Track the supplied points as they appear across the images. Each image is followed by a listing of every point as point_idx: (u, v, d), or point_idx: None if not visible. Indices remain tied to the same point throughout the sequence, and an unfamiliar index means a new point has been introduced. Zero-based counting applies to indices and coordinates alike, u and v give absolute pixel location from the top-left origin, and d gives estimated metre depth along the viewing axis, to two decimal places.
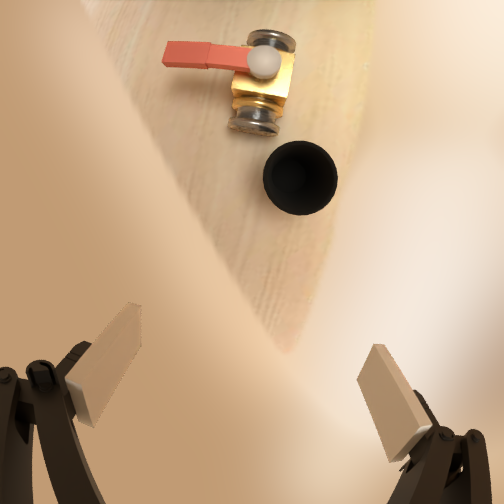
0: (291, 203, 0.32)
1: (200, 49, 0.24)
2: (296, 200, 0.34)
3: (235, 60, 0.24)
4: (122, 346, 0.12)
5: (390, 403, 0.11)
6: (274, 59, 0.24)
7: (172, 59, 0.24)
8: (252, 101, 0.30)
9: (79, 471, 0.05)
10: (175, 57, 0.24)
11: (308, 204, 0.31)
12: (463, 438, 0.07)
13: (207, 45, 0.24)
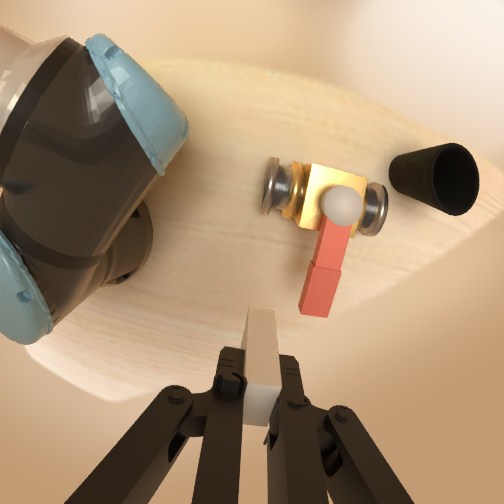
0: (455, 184, 0.26)
1: (321, 278, 0.26)
2: (445, 176, 0.28)
3: (341, 238, 0.25)
4: None
5: None
6: (345, 194, 0.24)
7: (327, 306, 0.27)
8: None
9: (232, 478, 0.06)
10: (325, 303, 0.27)
11: (462, 170, 0.24)
12: (326, 420, 0.09)
13: (317, 270, 0.26)
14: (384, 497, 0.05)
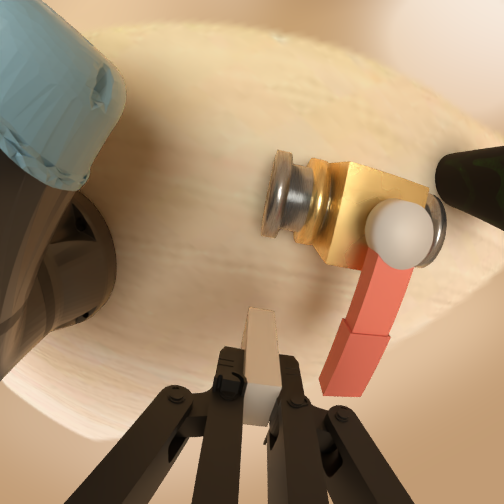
0: None
1: (359, 348, 0.15)
2: None
3: (396, 288, 0.14)
4: None
5: None
6: (409, 216, 0.13)
7: (362, 383, 0.16)
8: None
9: (232, 479, 0.06)
10: (361, 380, 0.16)
11: None
12: (326, 420, 0.09)
13: (355, 338, 0.15)
14: (384, 497, 0.05)
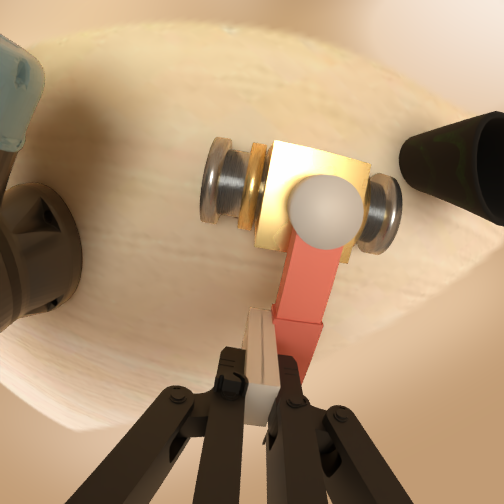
0: (496, 177, 0.15)
1: (287, 335, 0.15)
2: (480, 165, 0.17)
3: (323, 270, 0.14)
4: None
5: None
6: (329, 190, 0.13)
7: (299, 375, 0.16)
8: None
9: (233, 479, 0.06)
10: None
11: None
12: (324, 420, 0.09)
13: (280, 324, 0.15)
14: (383, 497, 0.05)
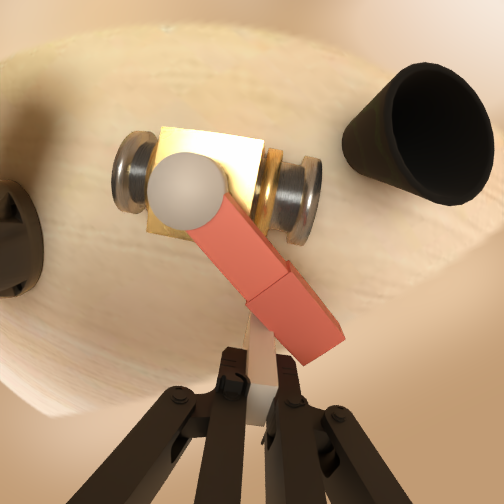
0: (451, 152, 0.14)
1: (273, 307, 0.14)
2: (433, 141, 0.16)
3: (235, 231, 0.13)
4: None
5: None
6: (166, 177, 0.12)
7: (328, 328, 0.14)
8: (265, 205, 0.17)
9: (235, 479, 0.06)
10: (321, 328, 0.14)
11: (460, 125, 0.12)
12: (323, 420, 0.09)
13: (255, 304, 0.14)
14: (382, 497, 0.05)
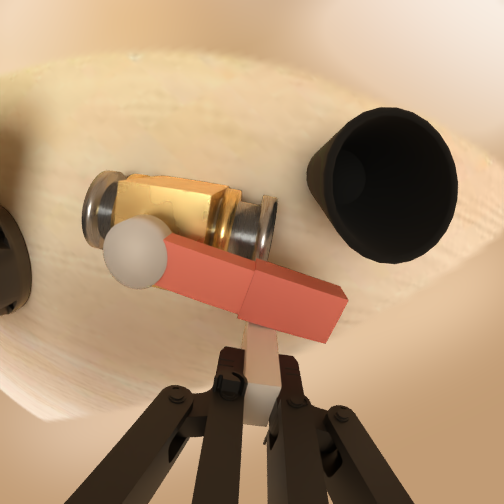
0: (413, 193, 0.15)
1: (262, 307, 0.14)
2: (398, 178, 0.17)
3: (190, 263, 0.14)
4: None
5: None
6: (114, 252, 0.13)
7: (325, 299, 0.14)
8: None
9: (232, 479, 0.06)
10: (317, 302, 0.14)
11: (424, 167, 0.14)
12: (325, 420, 0.09)
13: (245, 313, 0.14)
14: (384, 497, 0.05)
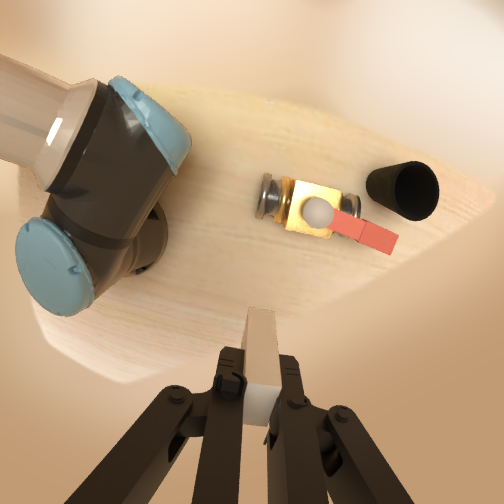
0: (420, 194, 0.34)
1: (368, 237, 0.33)
2: (413, 187, 0.36)
3: (342, 218, 0.32)
4: None
5: None
6: (310, 212, 0.32)
7: (390, 234, 0.32)
8: None
9: (232, 479, 0.06)
10: (388, 235, 0.32)
11: (425, 183, 0.32)
12: (326, 420, 0.09)
13: (361, 239, 0.33)
14: (384, 497, 0.05)
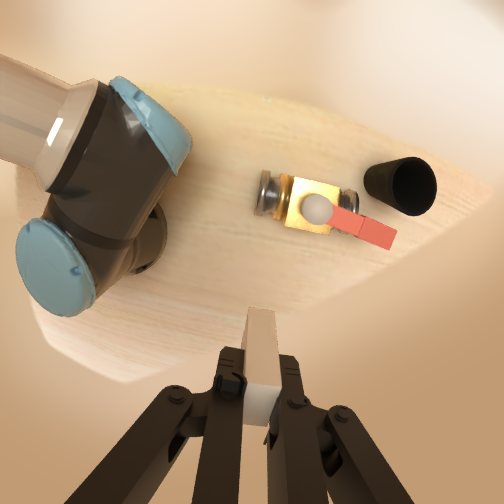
0: (418, 189, 0.35)
1: (366, 233, 0.33)
2: (411, 183, 0.36)
3: (341, 214, 0.32)
4: None
5: None
6: (309, 208, 0.32)
7: (389, 230, 0.33)
8: None
9: (232, 479, 0.06)
10: (386, 231, 0.33)
11: (423, 178, 0.33)
12: (326, 420, 0.09)
13: (360, 235, 0.33)
14: (384, 497, 0.05)
